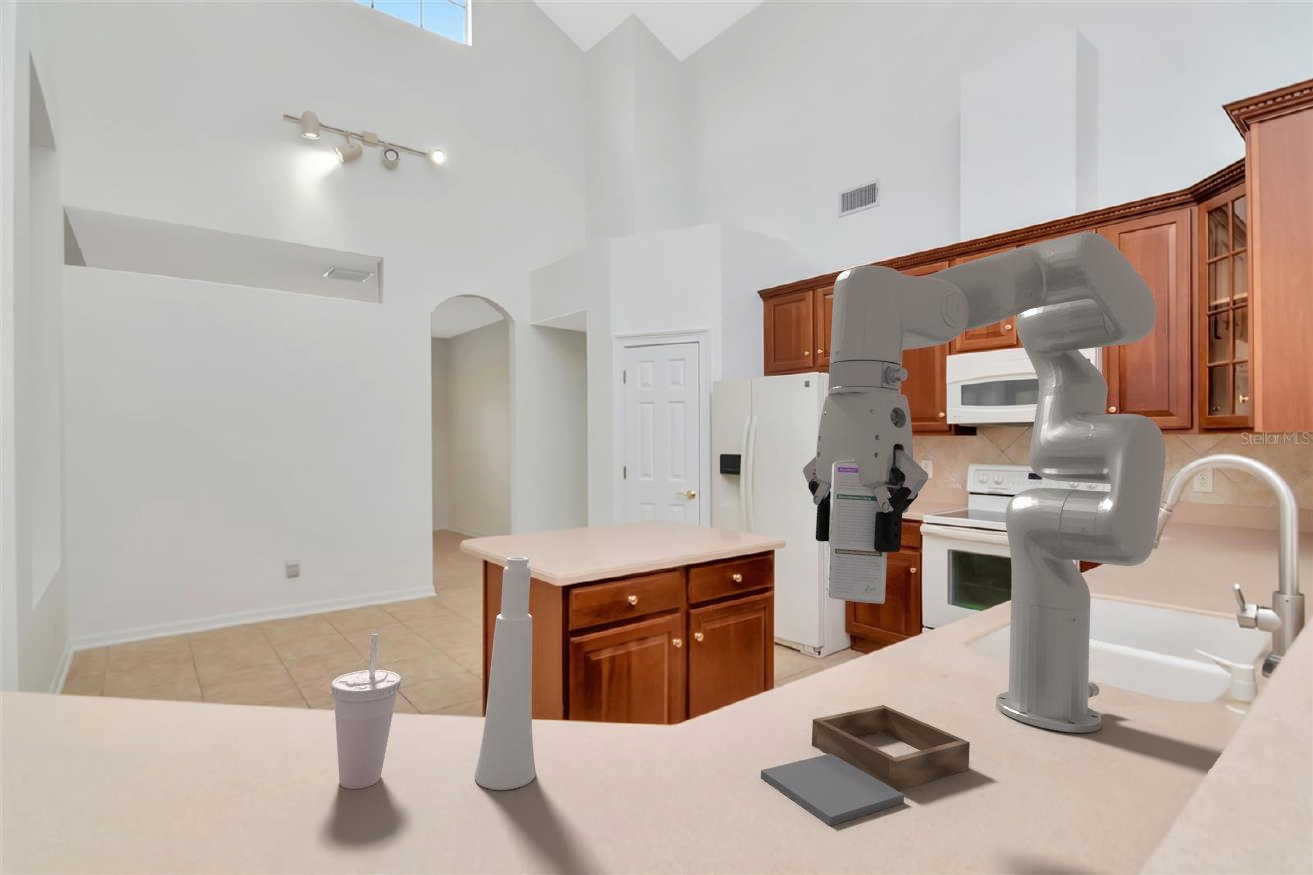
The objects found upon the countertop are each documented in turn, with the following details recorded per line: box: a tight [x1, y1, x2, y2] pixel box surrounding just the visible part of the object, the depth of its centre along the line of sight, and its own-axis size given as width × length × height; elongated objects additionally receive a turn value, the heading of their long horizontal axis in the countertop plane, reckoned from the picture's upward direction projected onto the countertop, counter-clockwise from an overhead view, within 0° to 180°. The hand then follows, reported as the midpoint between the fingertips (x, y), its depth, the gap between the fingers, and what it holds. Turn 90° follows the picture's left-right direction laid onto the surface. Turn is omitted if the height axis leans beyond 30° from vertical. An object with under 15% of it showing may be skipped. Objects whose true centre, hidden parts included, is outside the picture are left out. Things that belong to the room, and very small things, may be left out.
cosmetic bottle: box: [474, 556, 537, 791], centre depth 67 cm, size 6×6×22 cm
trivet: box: [760, 753, 905, 827], centre depth 67 cm, size 10×10×1 cm
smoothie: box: [329, 633, 402, 790], centre depth 65 cm, size 6×6×14 cm
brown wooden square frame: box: [811, 704, 971, 792], centre depth 76 cm, size 12×12×3 cm
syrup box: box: [826, 461, 889, 605], centre depth 71 cm, size 6×6×14 cm
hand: (855, 545), depth 70 cm, fingers closed on syrup box, 7 cm apart
